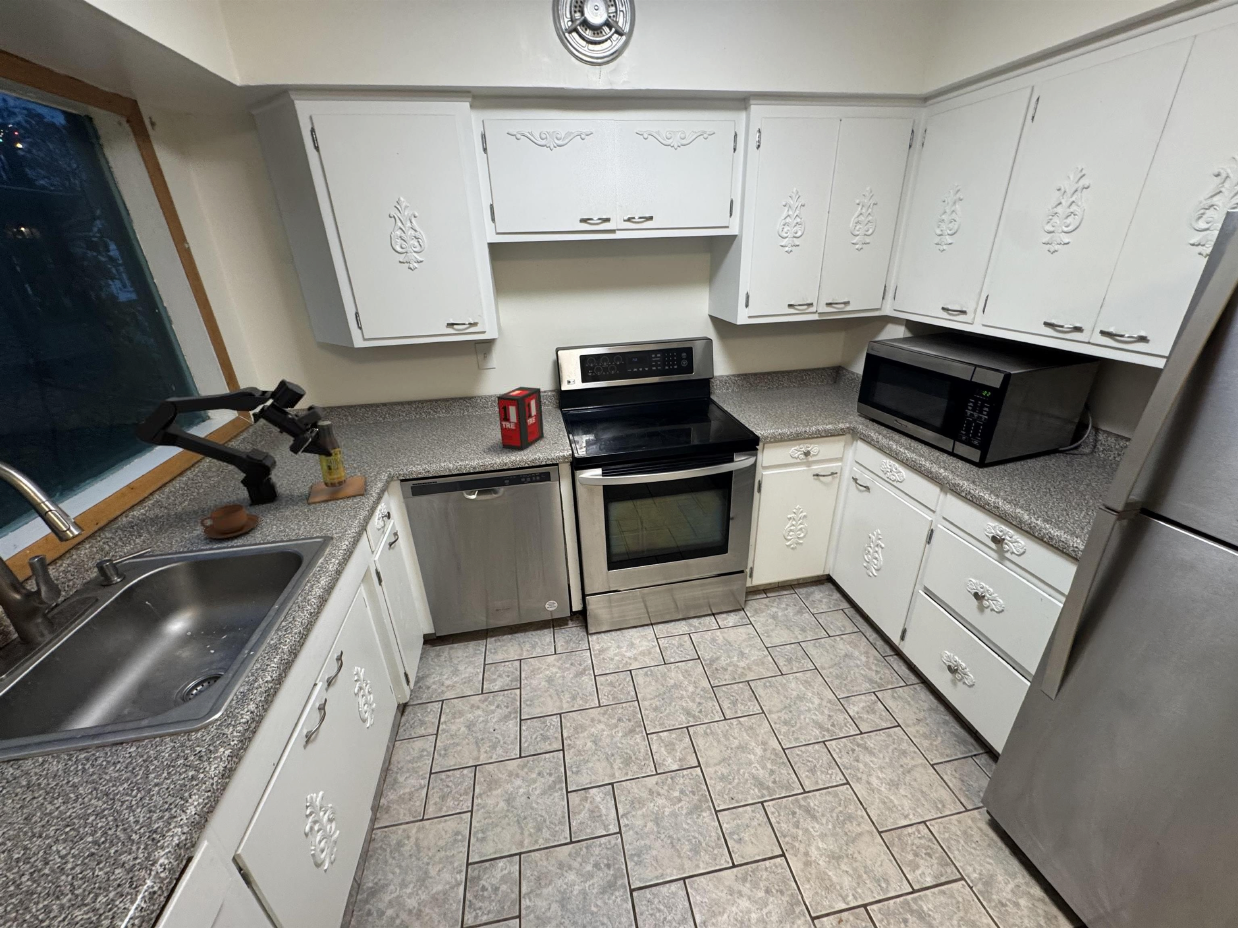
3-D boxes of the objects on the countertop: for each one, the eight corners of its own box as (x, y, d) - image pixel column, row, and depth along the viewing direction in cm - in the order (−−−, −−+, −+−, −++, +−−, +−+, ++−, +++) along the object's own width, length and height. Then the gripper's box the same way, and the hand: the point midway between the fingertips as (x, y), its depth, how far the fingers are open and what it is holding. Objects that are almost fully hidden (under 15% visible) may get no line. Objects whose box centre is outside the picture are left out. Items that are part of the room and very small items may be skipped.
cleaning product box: (524, 434, 206) (520, 386, 198) (543, 436, 203) (540, 388, 196) (502, 447, 192) (497, 396, 184) (522, 450, 189) (518, 398, 181)
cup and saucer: (211, 547, 126) (203, 526, 124) (201, 531, 134) (193, 511, 132) (266, 530, 134) (259, 509, 132) (254, 515, 142) (247, 496, 140)
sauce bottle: (332, 490, 152) (318, 427, 145) (320, 485, 155) (305, 424, 148) (352, 482, 158) (339, 421, 150) (339, 478, 160) (326, 418, 153)
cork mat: (308, 504, 149) (307, 502, 148) (313, 485, 161) (312, 483, 161) (364, 494, 154) (364, 493, 154) (364, 477, 167) (364, 475, 167)
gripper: (292, 407, 137) (345, 442, 144) (309, 392, 153) (356, 423, 161) (266, 438, 138) (320, 470, 145) (286, 419, 154) (333, 449, 161)
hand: (334, 451), depth 153 cm, fingers closed on sauce bottle, 6 cm apart
